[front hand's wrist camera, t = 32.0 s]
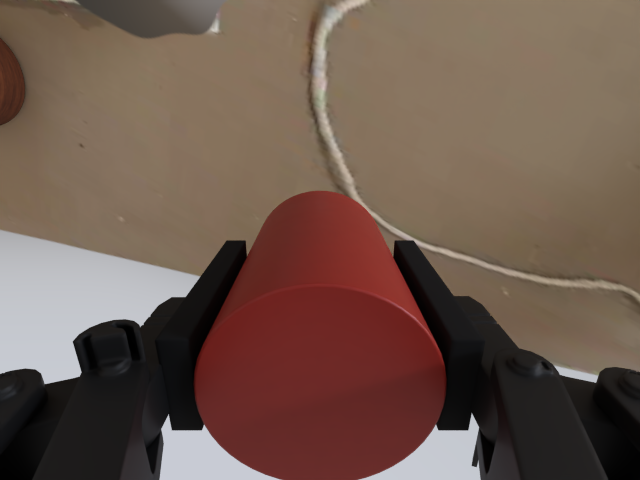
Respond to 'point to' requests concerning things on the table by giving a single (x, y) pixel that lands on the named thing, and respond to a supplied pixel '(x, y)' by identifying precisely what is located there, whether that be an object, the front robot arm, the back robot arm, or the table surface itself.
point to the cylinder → (320, 350)
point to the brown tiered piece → (10, 84)
